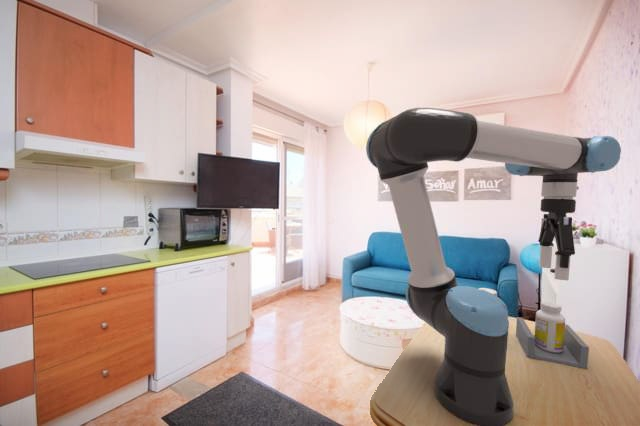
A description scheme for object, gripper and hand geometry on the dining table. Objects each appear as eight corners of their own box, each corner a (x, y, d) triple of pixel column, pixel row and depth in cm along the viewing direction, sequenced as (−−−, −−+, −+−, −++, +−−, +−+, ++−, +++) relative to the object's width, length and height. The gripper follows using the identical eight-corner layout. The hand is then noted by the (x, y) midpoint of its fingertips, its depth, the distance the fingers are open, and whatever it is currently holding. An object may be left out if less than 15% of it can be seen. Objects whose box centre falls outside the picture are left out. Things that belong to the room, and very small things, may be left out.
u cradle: (527, 356, 80) (528, 336, 80) (515, 334, 93) (516, 316, 93) (587, 368, 75) (589, 347, 75) (566, 343, 88) (568, 324, 87)
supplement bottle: (561, 346, 85) (564, 303, 84) (564, 356, 79) (568, 310, 78) (533, 339, 88) (536, 298, 87) (534, 348, 83) (537, 305, 82)
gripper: (597, 199, 68) (589, 287, 69) (558, 198, 91) (553, 264, 92) (557, 198, 71) (551, 283, 72) (529, 197, 94) (525, 262, 95)
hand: (552, 273), depth 82 cm, fingers open, 13 cm apart
